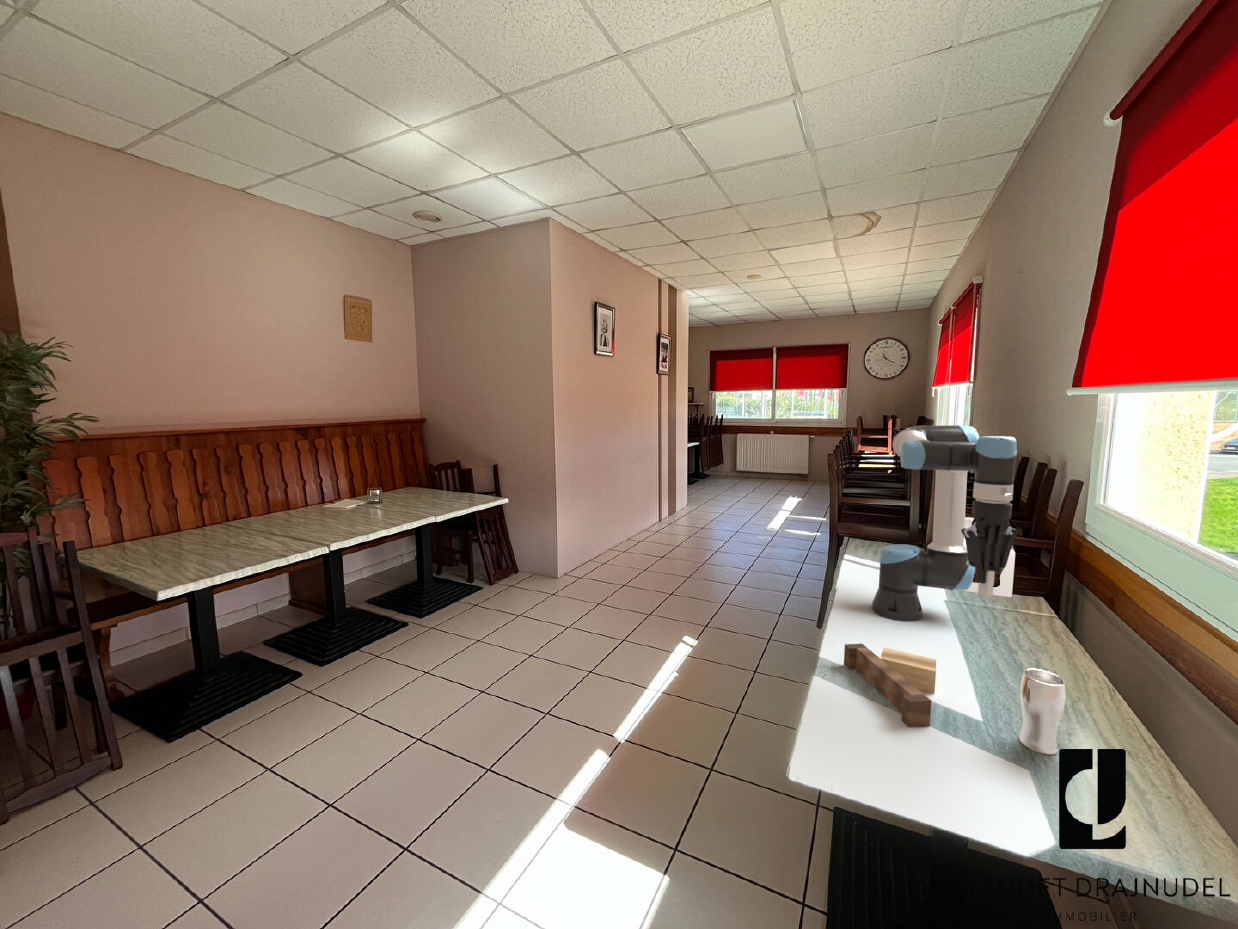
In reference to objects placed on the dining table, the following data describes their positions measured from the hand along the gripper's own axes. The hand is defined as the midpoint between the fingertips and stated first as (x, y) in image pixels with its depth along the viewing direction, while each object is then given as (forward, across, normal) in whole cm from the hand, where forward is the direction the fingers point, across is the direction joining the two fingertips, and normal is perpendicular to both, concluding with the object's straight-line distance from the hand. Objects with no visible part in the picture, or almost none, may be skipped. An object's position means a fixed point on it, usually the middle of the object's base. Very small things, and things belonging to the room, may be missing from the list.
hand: (985, 595), depth 119 cm
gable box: (+25, +55, +67) cm, 90 cm away
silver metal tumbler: (+25, -4, -20) cm, 32 cm away
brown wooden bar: (+24, -24, +1) cm, 34 cm away
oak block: (+25, -15, +6) cm, 29 cm away
